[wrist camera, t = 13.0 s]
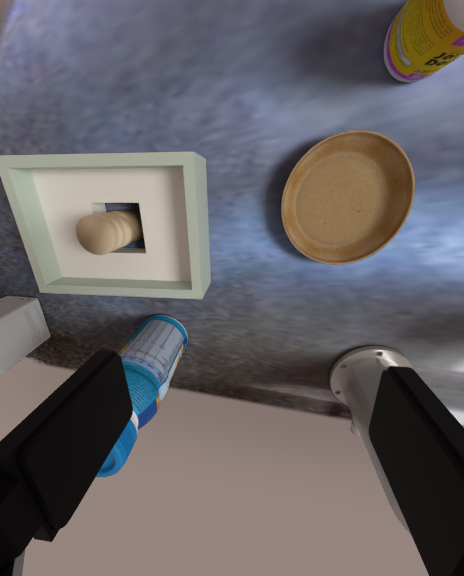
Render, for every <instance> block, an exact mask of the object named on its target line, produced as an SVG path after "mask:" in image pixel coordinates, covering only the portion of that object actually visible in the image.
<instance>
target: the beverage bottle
mask: <svg viewBox="0 0 464 576" xmlns="http://www.w3.org/2000/svg"><path fill="white" fill-rule="evenodd" d="M187 343H188V335H187V332H186V330H185V328H184V327H183V325H182V324H181V323H180V322H179V321H177V320H176V319H174V318H172V317H170V316H166V315H155V316H152V317H150V318H148V319H147V320H145V321H144V322H143V324H142V325H141V326H140V328H139V329H138V331H137V332H136V333H135V334H134V335H133V336H132V337H131V339H130V340H129V341H128V342H127V343H126V344H125V345H124V347H123V348H122V349H121V350H120V351H119V352H118V353H117V354H118V355H120V356H121V359H122V363H123V367H124V371H125V376H126V380H127V384H128V388H129V393H130V397H131V401H132V405H133V414H132V417H131V419H130V421H129V422H128V424H127V426H126V427H125V429H124V431H123V432H122V434H121V435H120V437H119V439H118V440H117V442H116V444H115V445H114V447H113V449H112V450H111V452H110V454H109V455H108V457H107V459H106V460H105V462H104V464H103V465H102V467H101V469H100V470H99V472H98V474H97V475H96V477H107V476H111V475H114V474H116V473H117V472H118V471H119V470H120V469H121V468H122V466H123V465H124V464H125V462H126V460H127V458H128V456H129V454H130V452H131V450H132V448H133V445H134V443H135V441H136V438H137V433H138V429H140V428H141V427H143V426H144V425H145V424H147V423H148V422H149V421H150V420H151V419H152V417H153V416H154V415H155V414H156V412H157V410H158V408H159V404H160V401H161V400H162V399H163V398H164V396H165V395H166V392H167V391H168V388H169V382H170V380H171V377H172V375H173V373H174V371H175V368H176V366H177V364H178V362H179V360H180V357H181V355H182V354H183V352H184V350H185V348H186V346H187Z"/></svg>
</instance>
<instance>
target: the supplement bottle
mask: <svg viewBox="0 0 464 576" xmlns="http://www.w3.org/2000/svg"><path fill="white" fill-rule="evenodd" d="M463 54H464V0H407V2H406V3H405V4H404V5H403V7H402V8H401V9H400V11H399V12H398V13H397V15H396V16H395V18H394V19H393V21H392V23H391V25H390V27H389V29H388V32H387V35H386V38H385V42H384V61H385V65H386V67H387V69H388V71H389V73H390V74H391V75H392V76H393V77H394V78H395V79H397V80H399V81H402V82H416V81H420V80H423V79H425V78H427V77H429V76H430V75H432V74H434V73H435V72H437V71H438V70H440V69H441V68H443V67H445V66H446V65H448V64H449V63H451V62H452V61H454V60H455V59H457V58H458V57H460V56H461V55H463Z"/></svg>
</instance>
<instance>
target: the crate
mask: <svg viewBox="0 0 464 576" xmlns="http://www.w3.org/2000/svg"><path fill="white" fill-rule="evenodd" d="M0 176H1V179H2V182H3V185H4V188H5V191H6V194H7V197H8V200H9V203H10V206H11V209H12V211H13V214H14V217H15V220H16V223H17V226H18V229H19V232H20V235H21V238H22V241H23V244H24V246H25V249H26V252H27V255H28V258H29V261H30V264H31V267H32V270H33V273H34V276H35V279H36V282H37V284H38V287H39V290H40V293H59V294H84V295H110V296H135V297H160V298H185V299H203V297H204V295H205V293H206V291H207V289H208V287H209V285H210V283H211V275H210V251H209V227H208V203H207V179H206V159H205V158H204V157H202V156H200V155H199V154H197V153H195V152H151V153H102V154H53V155H5V156H0ZM105 203H139V207H140V214H141V221H142V228H143V234H144V241H145V248H119V249H116V250H114V251H112V252H109V253H107V254H105V255H95V254H92V253H90V252H88V251H87V250H85V249H84V248H83V247H82V245H81V244H80V242H79V241H78V238H77V235H76V226H77V223H78V221H79V220H80V219H81V218H82V217H84V216H87V215H93V214H100V213H106V207H105Z"/></svg>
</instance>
